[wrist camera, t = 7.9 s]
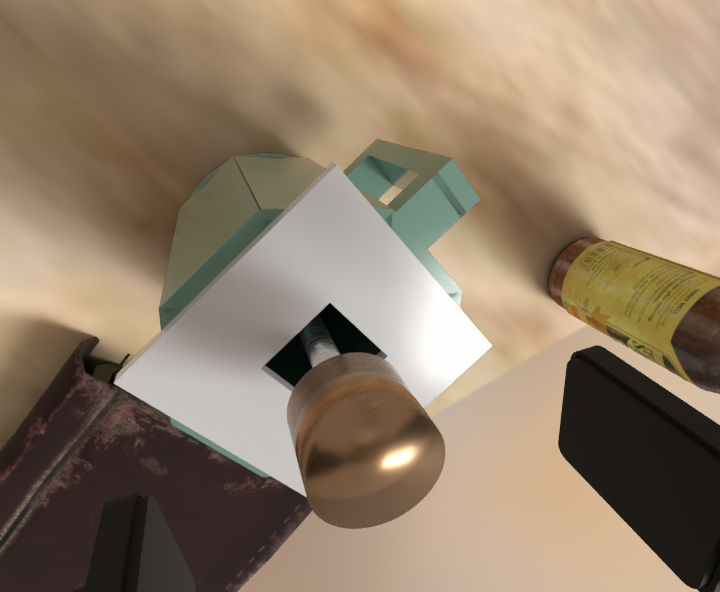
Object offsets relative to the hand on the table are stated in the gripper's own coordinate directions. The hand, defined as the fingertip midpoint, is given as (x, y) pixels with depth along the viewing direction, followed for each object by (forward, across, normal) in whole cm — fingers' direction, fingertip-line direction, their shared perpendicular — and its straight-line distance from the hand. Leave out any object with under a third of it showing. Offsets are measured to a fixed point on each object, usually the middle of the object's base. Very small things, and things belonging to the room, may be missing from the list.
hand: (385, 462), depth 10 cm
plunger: (+16, 0, +1) cm, 16 cm away
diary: (+20, +15, +20) cm, 32 cm away
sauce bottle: (+20, -23, +9) cm, 32 cm away
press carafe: (+20, -1, 0) cm, 20 cm away
